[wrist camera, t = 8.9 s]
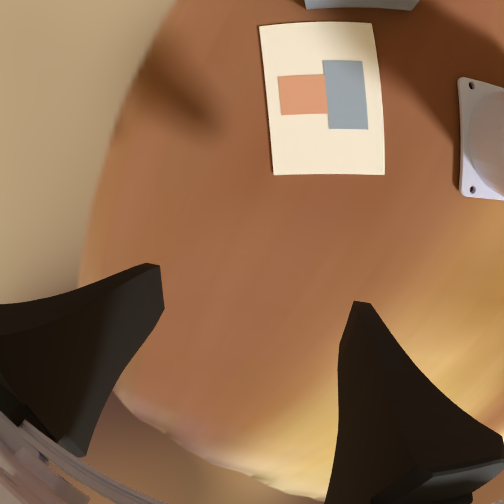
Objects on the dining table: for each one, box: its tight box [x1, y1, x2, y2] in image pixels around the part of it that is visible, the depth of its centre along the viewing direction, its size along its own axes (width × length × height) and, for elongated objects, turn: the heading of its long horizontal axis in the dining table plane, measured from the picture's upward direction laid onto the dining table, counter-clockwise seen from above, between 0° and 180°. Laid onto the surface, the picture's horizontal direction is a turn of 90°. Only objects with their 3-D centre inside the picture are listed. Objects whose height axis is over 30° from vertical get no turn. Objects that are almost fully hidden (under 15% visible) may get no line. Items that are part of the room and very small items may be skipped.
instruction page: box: [259, 22, 385, 175], centre depth 15 cm, size 7×10×1 cm
